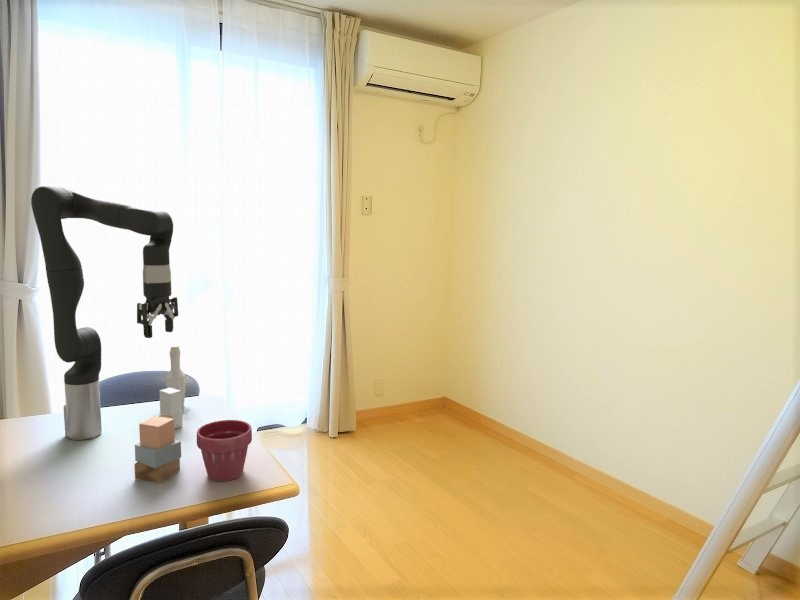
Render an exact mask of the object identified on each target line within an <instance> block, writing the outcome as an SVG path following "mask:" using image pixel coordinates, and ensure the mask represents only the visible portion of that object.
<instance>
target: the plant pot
mask: <svg viewBox="0 0 800 600" xmlns="http://www.w3.org/2000/svg"><path fill="white" fill-rule="evenodd" d="M252 440H253V430H252V425H251V424H250V423H248V422H246V421H243V420H237V419H223V420H216V421H212V422H208V423H206V424H204V425H202V426H200V427H199V428H198V429H197V430H196V446H197V448H198V449H199V450H200V452H201V457H202V460H203V463H204V467H205V471H206V474H207V478H209V479H210V480H212V481H215V482H228V481H232V480H235V479H236V480H237V478H239V477H241V476H242V475H243V473H244V469H245V468H244V467H245V463H246V459H247V455H248V448H249V445H250V444H251V443H252Z"/></svg>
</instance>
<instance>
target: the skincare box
mask: <svg viewBox="0 0 800 600" xmlns="http://www.w3.org/2000/svg"><path fill="white" fill-rule="evenodd" d="M158 392H159V393H158V394H159V416H160V415H171V416H172V417H173V419H174V430H175V429H178V428H180V427H183V425H184V424H183V407H182V394H181V391H180V390H177V389H173V388H167V389H166V388H164V389H159V391H158Z"/></svg>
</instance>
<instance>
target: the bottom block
mask: <svg viewBox="0 0 800 600" xmlns="http://www.w3.org/2000/svg"><path fill="white" fill-rule="evenodd" d="M133 467H134V480H135V479H136V480H137V481H142V482H143V481H145V482H153V483H159V484H160V483H161V484H164V483H165V482H166V481H167V480H169V479H170V478H171V477H172V476H174V475H175V474H176V473H177V472H179V471H180V470H181V458H178V459H176V460H174V461H172V462H169V463H167V464H165V465H162V466H160V467H158V468H153V467H150V466H148V465H145V464H142V463H140V462H137V461H136V462H135V463H134V466H133Z"/></svg>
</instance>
